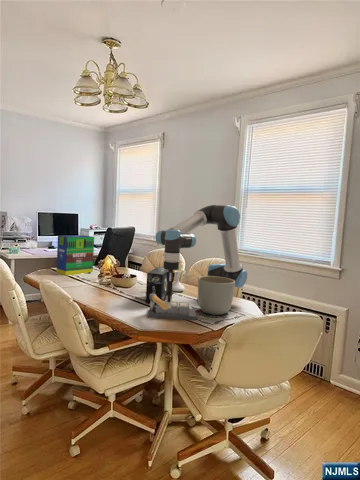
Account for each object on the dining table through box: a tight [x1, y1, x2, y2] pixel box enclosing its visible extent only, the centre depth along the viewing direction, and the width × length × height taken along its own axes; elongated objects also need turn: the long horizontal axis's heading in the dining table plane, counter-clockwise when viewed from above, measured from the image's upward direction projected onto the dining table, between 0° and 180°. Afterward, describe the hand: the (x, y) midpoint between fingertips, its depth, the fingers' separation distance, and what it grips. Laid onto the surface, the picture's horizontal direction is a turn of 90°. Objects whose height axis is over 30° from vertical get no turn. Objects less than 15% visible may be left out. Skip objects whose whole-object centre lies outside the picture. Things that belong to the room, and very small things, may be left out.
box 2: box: [145, 266, 169, 306], centre depth 213 cm, size 23×10×19 cm, turn 168°
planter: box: [197, 275, 236, 316], centre depth 195 cm, size 21×21×19 cm
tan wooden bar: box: [149, 294, 168, 310], centre depth 176 cm, size 22×4×2 cm, turn 23°
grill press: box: [147, 300, 197, 321], centre depth 185 cm, size 25×14×7 cm, turn 91°
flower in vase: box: [172, 266, 186, 292], centre depth 241 cm, size 13×11×25 cm
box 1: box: [56, 234, 95, 276], centre depth 280 cm, size 25×14×30 cm, turn 140°
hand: (168, 307), depth 170 cm, fingers closed
